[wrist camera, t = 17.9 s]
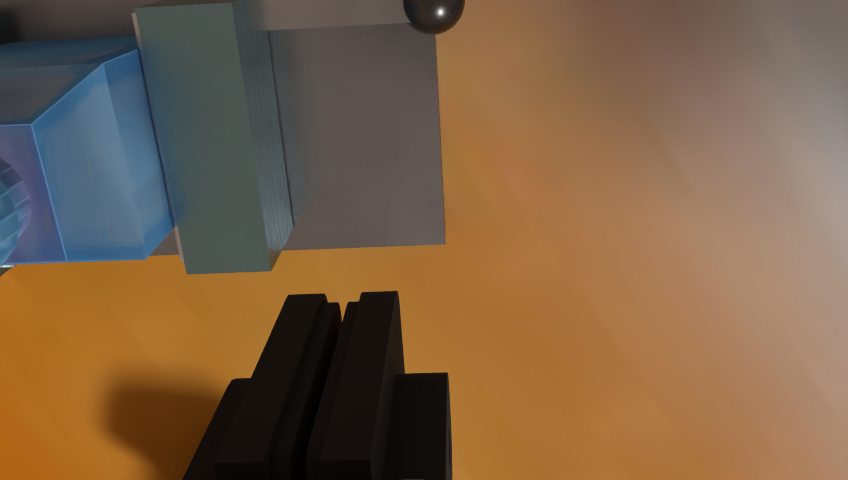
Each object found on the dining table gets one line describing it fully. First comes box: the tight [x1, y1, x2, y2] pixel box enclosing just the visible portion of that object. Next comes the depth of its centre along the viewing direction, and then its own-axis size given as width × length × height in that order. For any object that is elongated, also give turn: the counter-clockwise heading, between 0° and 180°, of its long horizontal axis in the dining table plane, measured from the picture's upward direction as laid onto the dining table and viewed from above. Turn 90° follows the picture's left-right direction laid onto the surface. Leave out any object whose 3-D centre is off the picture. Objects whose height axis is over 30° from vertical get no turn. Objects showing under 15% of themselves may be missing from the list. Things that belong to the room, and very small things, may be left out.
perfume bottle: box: [0, 36, 174, 265], centre depth 23 cm, size 6×6×12 cm
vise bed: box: [0, 0, 445, 276], centre depth 27 cm, size 20×11×5 cm, turn 93°
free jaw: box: [132, 0, 465, 274], centre depth 26 cm, size 10×10×4 cm
